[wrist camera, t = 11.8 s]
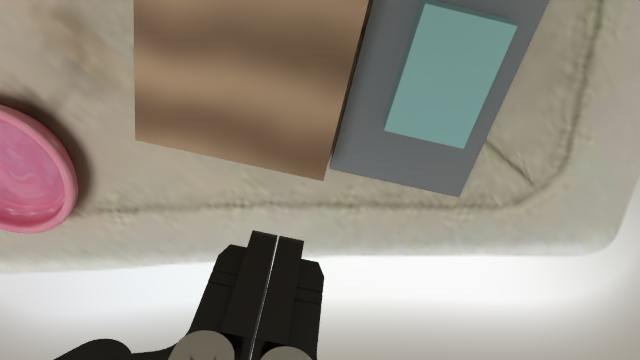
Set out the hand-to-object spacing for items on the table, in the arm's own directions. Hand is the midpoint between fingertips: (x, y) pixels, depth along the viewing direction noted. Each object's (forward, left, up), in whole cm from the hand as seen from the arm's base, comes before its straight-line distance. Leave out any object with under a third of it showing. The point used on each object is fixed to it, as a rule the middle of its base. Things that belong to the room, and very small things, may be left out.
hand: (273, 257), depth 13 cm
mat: (0, +8, -23) cm, 24 cm away
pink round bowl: (+16, -24, -23) cm, 37 cm away
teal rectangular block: (0, +9, -20) cm, 22 cm away
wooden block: (0, -5, -23) cm, 23 cm away
